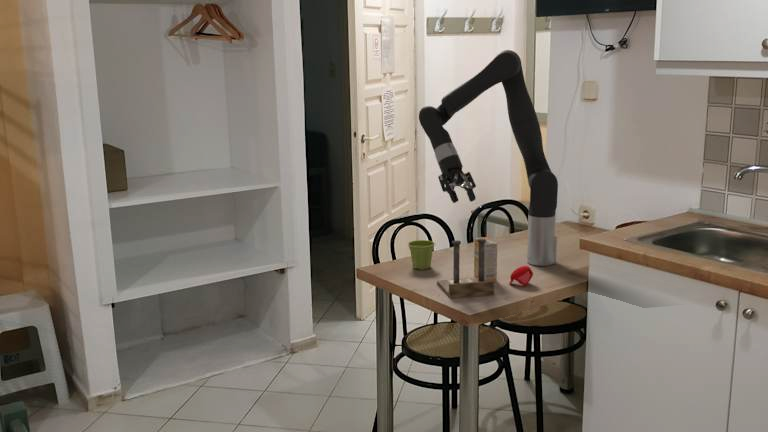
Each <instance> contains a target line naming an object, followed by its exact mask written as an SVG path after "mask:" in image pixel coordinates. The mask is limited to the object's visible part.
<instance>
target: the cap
mask: <svg viewBox="0 0 768 432" xmlns="http://www.w3.org/2000/svg"><path fill="white" fill-rule="evenodd" d="M533 276H534V272H533V270H532V269H531V267H530V266H529V265H528V266H527V265H523V266H520V267H517V268H515V269H514V270H513V272H512V273H511V274H510V281H509V285H511V284H513V282H514V281H516V282H518V284H520V285H522V286H523V287H528V284H529V283H530V281H531V280H532V278H533Z"/></svg>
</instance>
